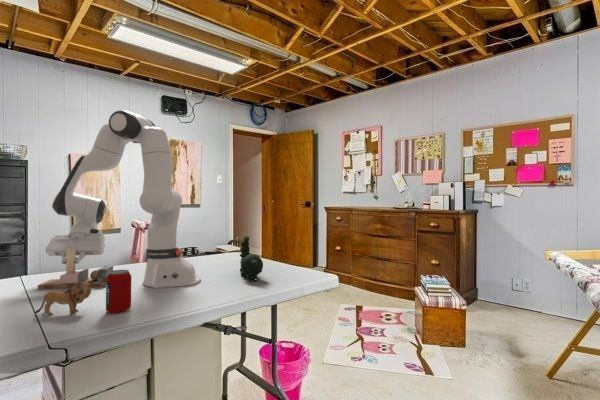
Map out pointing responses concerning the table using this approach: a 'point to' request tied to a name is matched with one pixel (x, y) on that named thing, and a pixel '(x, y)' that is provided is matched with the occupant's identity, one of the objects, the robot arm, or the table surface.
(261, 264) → the toy figurine
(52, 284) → the press base
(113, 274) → the beverage can
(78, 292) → the lion figurine
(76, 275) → the press slider
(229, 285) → the table surface
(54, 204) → the robot arm
